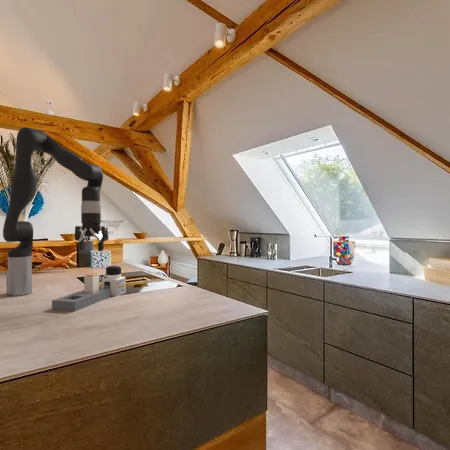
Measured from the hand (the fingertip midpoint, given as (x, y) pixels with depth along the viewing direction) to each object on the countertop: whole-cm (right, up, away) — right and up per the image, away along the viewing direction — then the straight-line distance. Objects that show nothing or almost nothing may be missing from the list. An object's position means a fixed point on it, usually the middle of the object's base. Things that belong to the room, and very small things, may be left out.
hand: (91, 250), depth 135 cm
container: (+6, -21, +11) cm, 24 cm away
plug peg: (0, -21, 0) cm, 21 cm away
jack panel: (-1, -21, -5) cm, 22 cm away
